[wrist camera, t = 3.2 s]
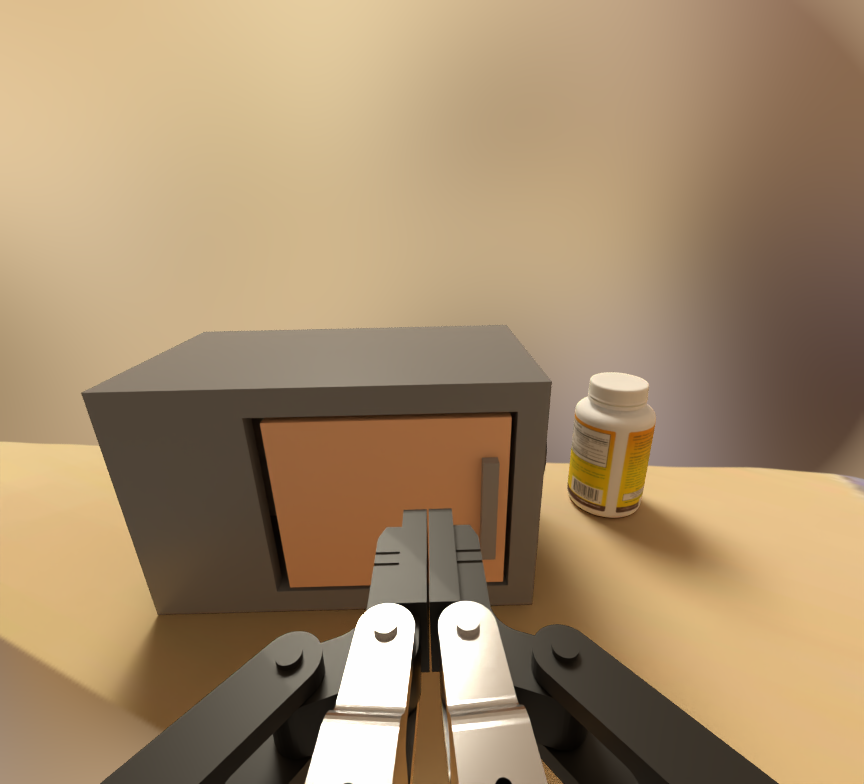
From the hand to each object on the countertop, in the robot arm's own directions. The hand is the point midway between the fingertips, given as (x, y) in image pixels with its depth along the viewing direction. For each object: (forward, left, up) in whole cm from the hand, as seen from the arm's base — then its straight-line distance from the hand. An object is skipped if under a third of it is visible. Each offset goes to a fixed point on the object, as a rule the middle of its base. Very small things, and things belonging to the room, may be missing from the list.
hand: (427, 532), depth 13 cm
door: (-2, +8, -10) cm, 13 cm away
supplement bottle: (+14, +18, -12) cm, 26 cm away
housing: (-5, +14, -12) cm, 19 cm away
